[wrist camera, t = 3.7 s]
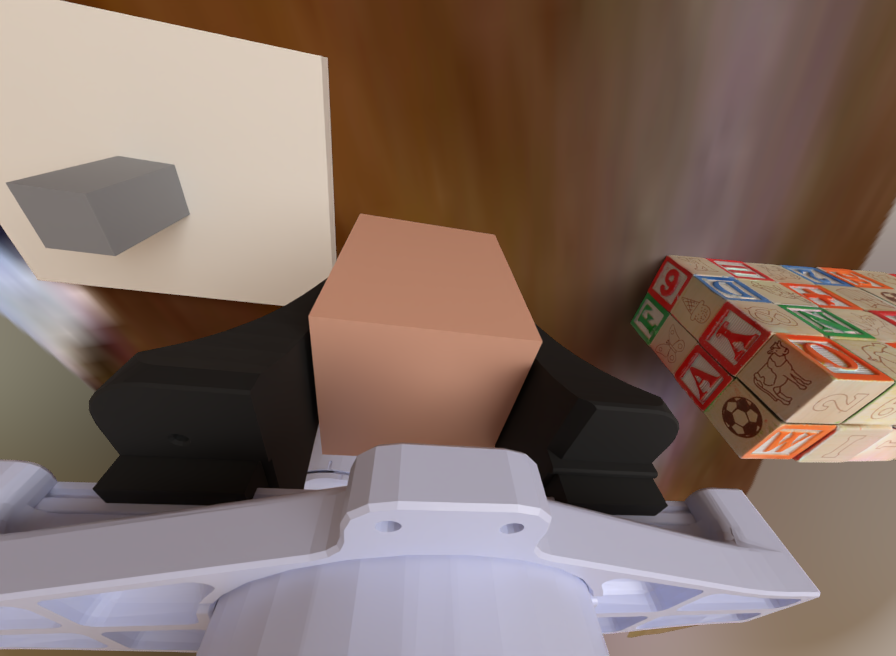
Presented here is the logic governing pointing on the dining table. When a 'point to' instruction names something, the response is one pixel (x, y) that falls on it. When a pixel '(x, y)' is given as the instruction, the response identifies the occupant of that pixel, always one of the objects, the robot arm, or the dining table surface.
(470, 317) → the salmon orange block
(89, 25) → the post board
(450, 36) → the dining table surface
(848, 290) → the stack of blocks
